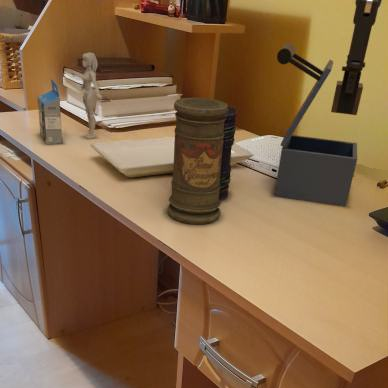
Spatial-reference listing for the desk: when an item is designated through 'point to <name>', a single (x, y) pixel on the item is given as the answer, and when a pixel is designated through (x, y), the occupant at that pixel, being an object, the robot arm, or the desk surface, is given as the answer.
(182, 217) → the container
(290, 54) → the lid
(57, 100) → the label tape box
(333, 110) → the block
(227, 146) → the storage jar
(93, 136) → the human figurine
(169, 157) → the tray
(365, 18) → the robot arm
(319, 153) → the grey storage bin
